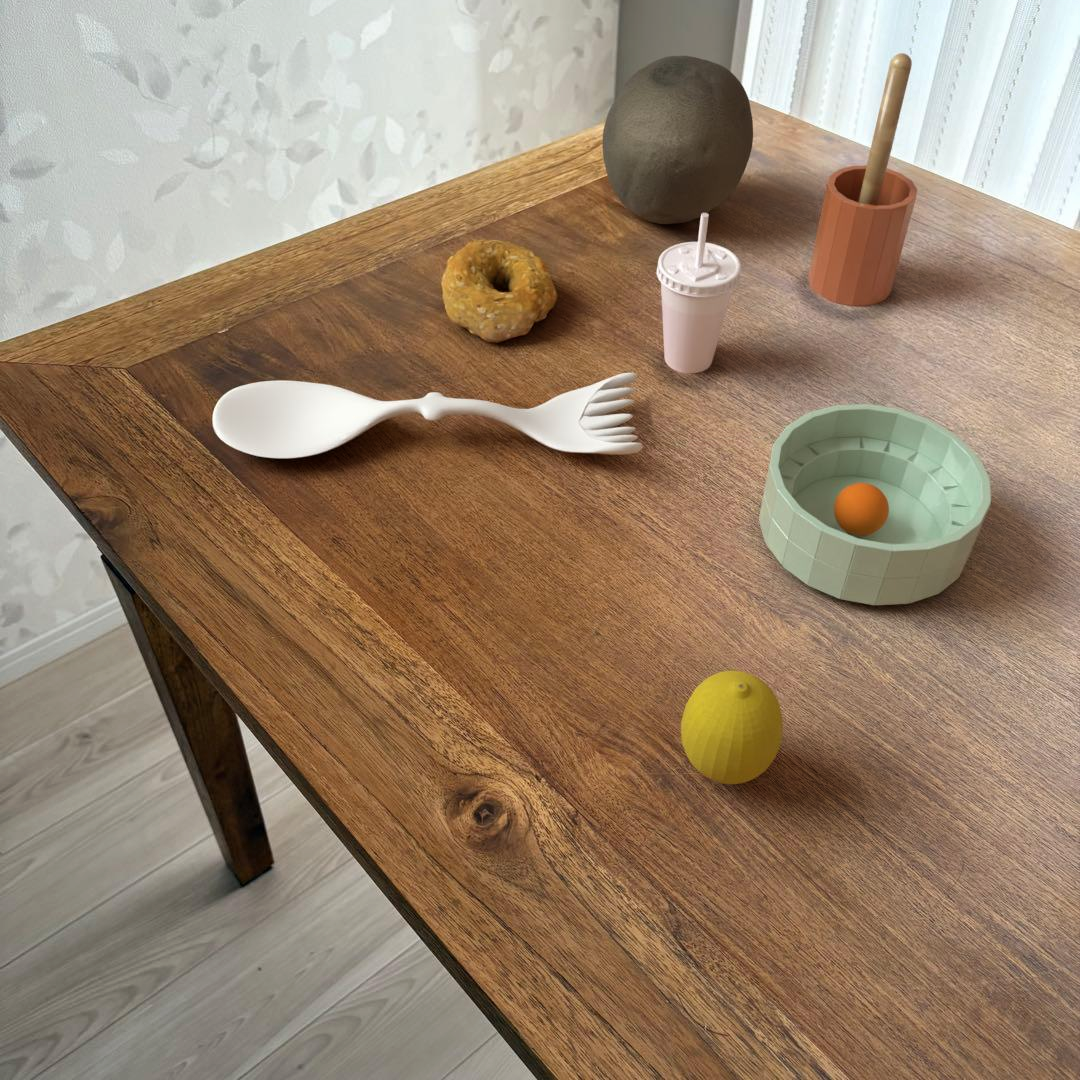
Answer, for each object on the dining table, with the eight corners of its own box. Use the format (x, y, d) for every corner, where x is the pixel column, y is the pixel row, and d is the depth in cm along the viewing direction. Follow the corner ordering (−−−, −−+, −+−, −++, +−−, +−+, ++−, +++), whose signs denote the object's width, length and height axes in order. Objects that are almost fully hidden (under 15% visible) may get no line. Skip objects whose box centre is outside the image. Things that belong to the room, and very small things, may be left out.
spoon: (640, 478, 82) (643, 443, 79) (206, 473, 82) (196, 437, 79) (635, 401, 88) (638, 366, 85) (232, 396, 88) (223, 361, 86)
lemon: (655, 767, 65) (667, 685, 59) (716, 712, 67) (732, 628, 61) (730, 828, 62) (749, 748, 56) (790, 768, 64) (814, 685, 59)
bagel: (440, 348, 93) (436, 299, 89) (445, 275, 100) (441, 228, 97) (559, 347, 93) (559, 298, 89) (555, 274, 100) (555, 227, 97)
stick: (856, 277, 99) (910, 49, 84) (861, 287, 98) (916, 58, 83) (838, 277, 99) (889, 50, 84) (843, 287, 98) (895, 59, 83)
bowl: (928, 462, 83) (950, 399, 78) (995, 607, 73) (1024, 544, 69) (740, 471, 82) (751, 408, 78) (782, 618, 72) (797, 555, 68)
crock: (876, 266, 101) (902, 163, 94) (899, 312, 96) (928, 207, 89) (798, 269, 101) (818, 166, 94) (817, 315, 96) (840, 210, 89)
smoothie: (641, 383, 89) (655, 227, 79) (655, 338, 94) (669, 184, 84) (721, 395, 88) (744, 239, 78) (731, 348, 93) (754, 194, 83)
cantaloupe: (566, 215, 108) (569, 59, 97) (670, 169, 114) (684, 18, 103) (669, 277, 100) (685, 116, 89) (774, 224, 106) (801, 68, 96)
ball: (874, 508, 78) (885, 470, 76) (888, 545, 76) (900, 507, 73) (823, 510, 78) (833, 473, 76) (836, 547, 76) (847, 510, 73)
